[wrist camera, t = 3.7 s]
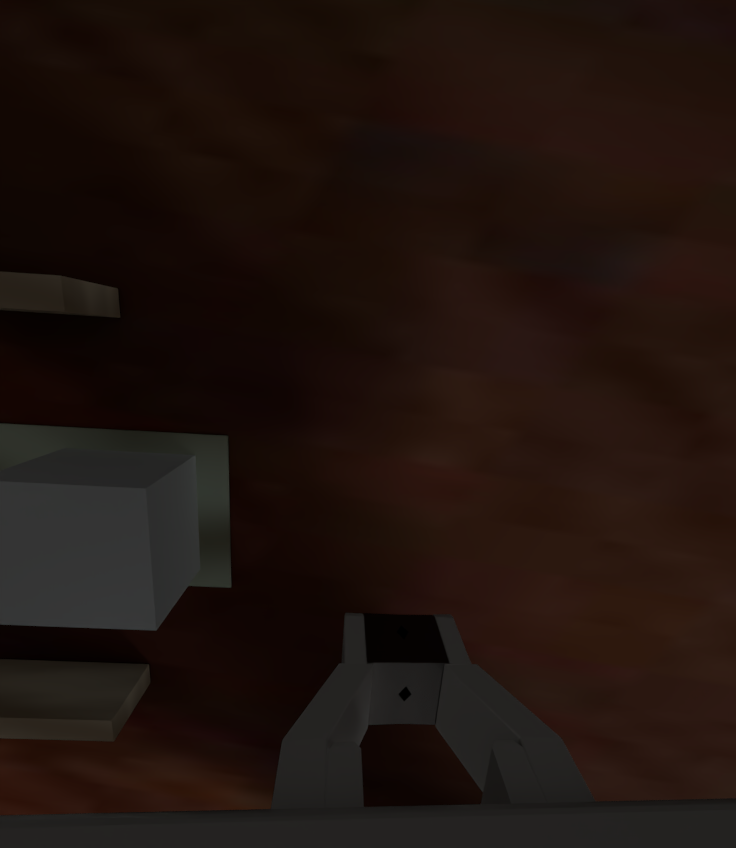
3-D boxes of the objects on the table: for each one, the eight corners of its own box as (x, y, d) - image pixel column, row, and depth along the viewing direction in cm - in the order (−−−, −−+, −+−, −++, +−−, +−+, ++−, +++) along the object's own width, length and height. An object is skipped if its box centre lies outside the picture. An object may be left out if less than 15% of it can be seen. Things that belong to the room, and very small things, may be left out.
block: (200, 569, 18) (156, 630, 14) (78, 563, 18) (0, 624, 14) (195, 455, 17) (145, 488, 13) (64, 447, 17) (-27, 480, 13)
